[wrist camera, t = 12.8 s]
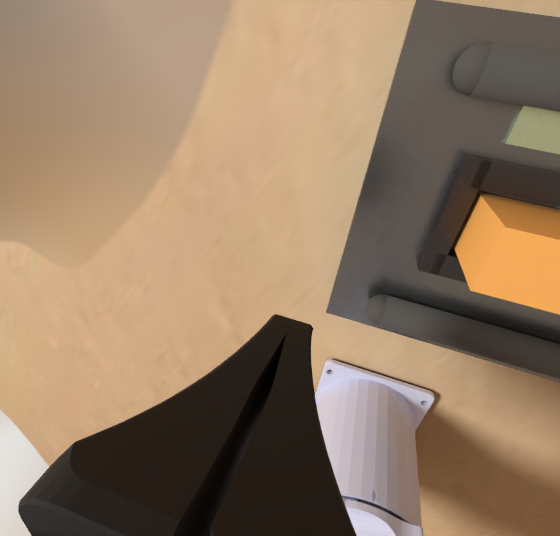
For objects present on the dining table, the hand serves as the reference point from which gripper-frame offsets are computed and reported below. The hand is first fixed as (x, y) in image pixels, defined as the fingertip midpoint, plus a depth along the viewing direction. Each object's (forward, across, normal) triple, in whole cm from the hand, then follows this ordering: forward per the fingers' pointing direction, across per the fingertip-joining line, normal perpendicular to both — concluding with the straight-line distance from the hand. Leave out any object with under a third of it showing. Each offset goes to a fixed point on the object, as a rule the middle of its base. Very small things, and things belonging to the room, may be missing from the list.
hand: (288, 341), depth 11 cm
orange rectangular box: (+9, -8, -3) cm, 12 cm away
